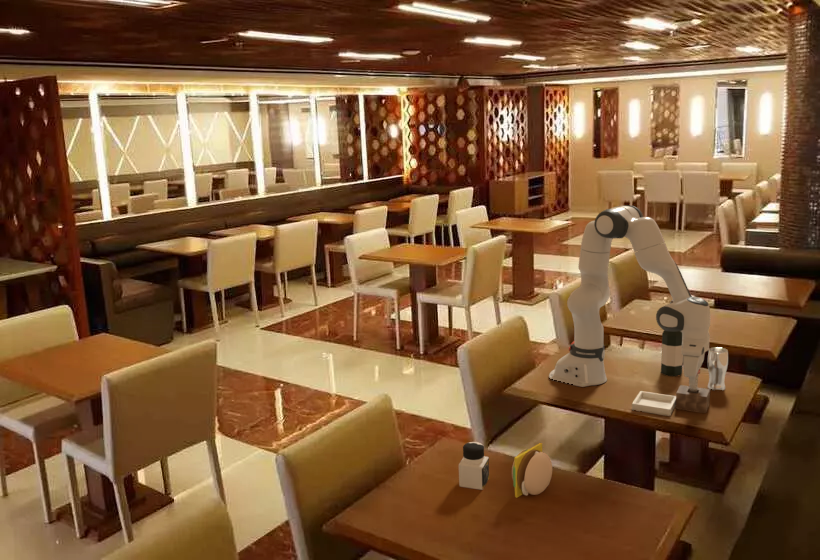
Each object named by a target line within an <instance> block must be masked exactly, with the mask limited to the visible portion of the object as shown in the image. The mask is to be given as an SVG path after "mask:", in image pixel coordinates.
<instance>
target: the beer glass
mask: <svg viewBox="0 0 820 560" xmlns="http://www.w3.org/2000/svg"><path fill="white" fill-rule="evenodd" d="M728 365H729V351H728V349H726V348H723V347H718V346H717V347H711V348H710V347H709V350H708V355H707V368H708V384H707V389H710V390H711V389H712V391H715V390H722V391H725V390H726V385H725V379H726V378H725V377H726V374H727V370H728Z"/></svg>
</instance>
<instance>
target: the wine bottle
mask: <svg viewBox="0 0 820 560" xmlns="http://www.w3.org/2000/svg"><path fill="white" fill-rule="evenodd" d="M670 303H673V299H671V301H670V302H669V304H670ZM660 362H661V363H660V373H661V374H662V375H664V376H666V375H668V377H679V376H678V375H680V376H682V375H681V374H683V354H682V332H680V331H678V332H671V331H665V330H663V331H662V334H661V361H660Z"/></svg>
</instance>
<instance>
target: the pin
mask: <svg viewBox="0 0 820 560" xmlns="http://www.w3.org/2000/svg"><path fill="white" fill-rule="evenodd" d="M700 374H701V368H700V369H699V371H698V373H697V375H696V377H695V384H694V385H689V392H691V393H697V387H698V385H699V384H698V382H699V379H698V378H699V375H700Z"/></svg>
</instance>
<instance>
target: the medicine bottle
mask: <svg viewBox="0 0 820 560" xmlns="http://www.w3.org/2000/svg"><path fill="white" fill-rule="evenodd" d="M489 480H490V458H489V456H486V455H485V446H484V444H482V443H481V442H478V441H470V442H466V443H464V444H463V446H462V459H461V460H460V462H459V463H458V483H459V484H458V486H459V487H461V488H467V489H474V490H479V491H482V490H484V488H485V486H486V485H487V483H488V481H489Z"/></svg>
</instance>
